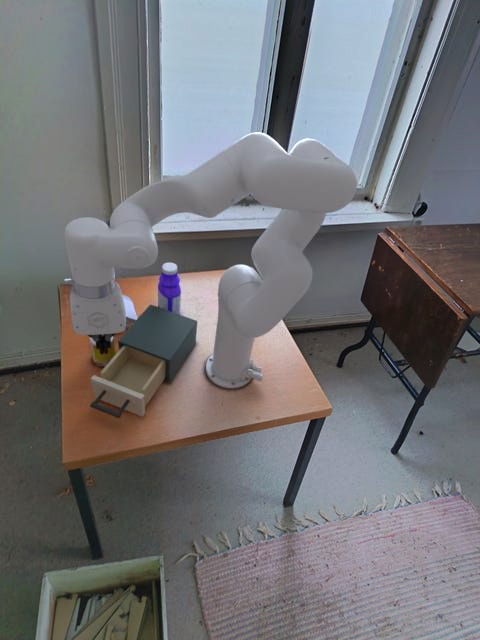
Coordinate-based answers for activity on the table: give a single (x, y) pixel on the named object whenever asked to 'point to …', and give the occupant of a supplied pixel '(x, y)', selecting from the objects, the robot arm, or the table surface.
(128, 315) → the wedge on round base
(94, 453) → the table surface
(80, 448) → the table surface
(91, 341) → the supplement bottle
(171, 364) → the cabinet
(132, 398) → the drawer
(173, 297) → the bottle
